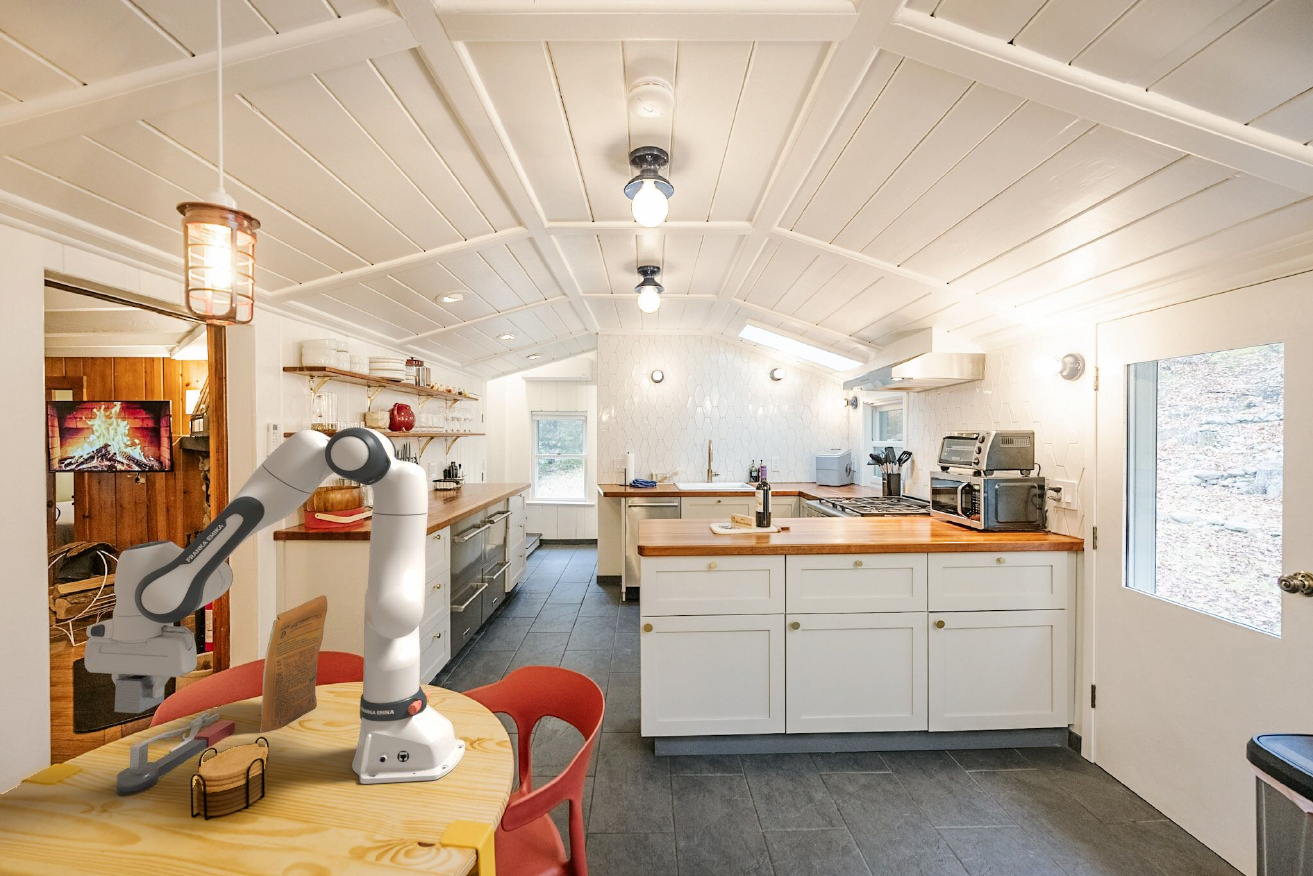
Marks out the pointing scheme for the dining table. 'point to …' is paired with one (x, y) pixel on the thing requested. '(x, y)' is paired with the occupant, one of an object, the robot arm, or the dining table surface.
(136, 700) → the socket
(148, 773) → the ratchet
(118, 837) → the dining table surface
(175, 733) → the pliers
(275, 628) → the pancake mix bag
